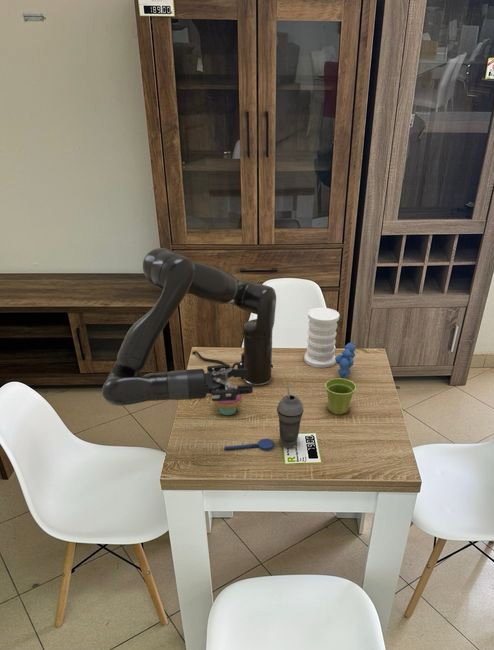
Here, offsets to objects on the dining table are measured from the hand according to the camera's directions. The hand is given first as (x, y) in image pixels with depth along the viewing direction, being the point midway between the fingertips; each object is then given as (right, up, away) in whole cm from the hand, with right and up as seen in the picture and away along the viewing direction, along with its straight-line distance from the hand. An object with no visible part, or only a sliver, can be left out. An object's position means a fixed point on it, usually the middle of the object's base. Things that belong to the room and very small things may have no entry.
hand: (249, 380), depth 140 cm
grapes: (+29, +4, +48) cm, 56 cm away
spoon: (-1, -18, +12) cm, 22 cm away
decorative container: (+21, +10, +57) cm, 62 cm away
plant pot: (+26, -8, +30) cm, 40 cm away
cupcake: (-9, -8, +27) cm, 29 cm away
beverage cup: (+10, -17, +14) cm, 25 cm away
